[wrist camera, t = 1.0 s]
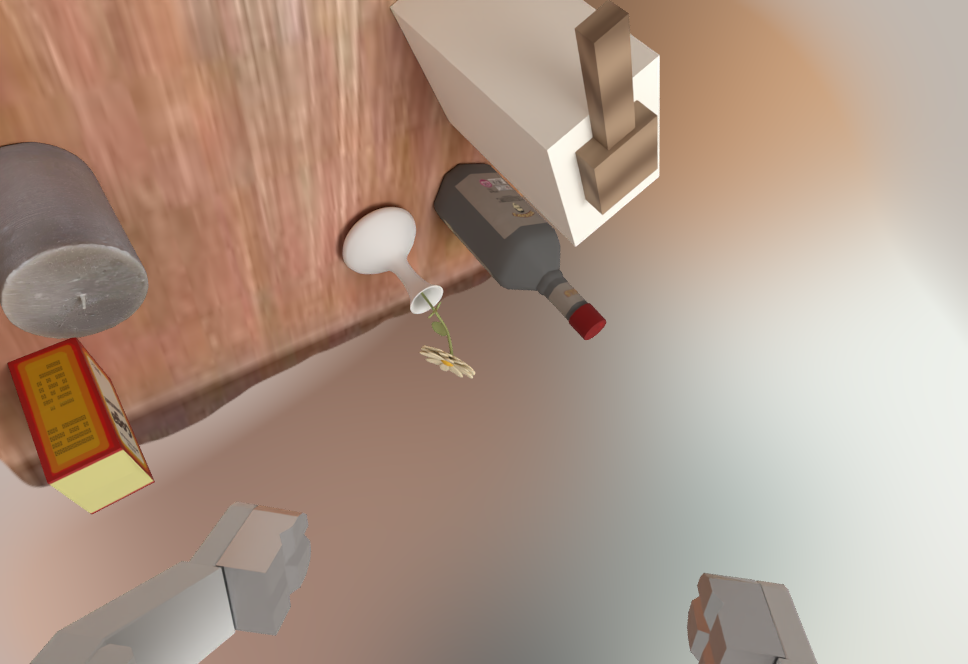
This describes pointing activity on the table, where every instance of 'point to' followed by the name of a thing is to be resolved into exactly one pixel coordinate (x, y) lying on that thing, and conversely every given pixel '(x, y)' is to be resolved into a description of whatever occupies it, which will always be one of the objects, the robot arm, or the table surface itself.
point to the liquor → (511, 240)
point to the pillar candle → (62, 247)
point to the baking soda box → (79, 426)
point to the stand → (522, 93)
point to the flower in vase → (399, 270)
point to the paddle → (612, 112)
